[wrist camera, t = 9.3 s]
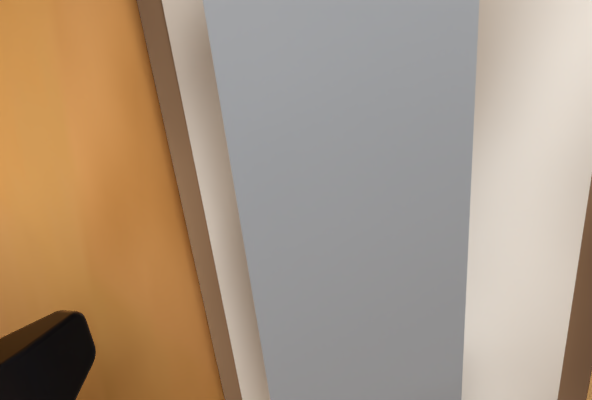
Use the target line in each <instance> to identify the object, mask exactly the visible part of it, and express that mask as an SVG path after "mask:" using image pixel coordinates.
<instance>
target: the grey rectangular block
mask: <svg viewBox="0 0 592 400" xmlns="http://www.w3.org/2000/svg"><path fill="white" fill-rule="evenodd" d="M203 6H204V11H205V17H206V23H207V29H208V35H209V41H210V47H211V53H212V59H213V64H214V70H215V76H216V82H217V88H218V94H219V100H220V106H221V112H222V118H223V123H224V129H225V135H226V141H227V147H228V153H229V159H230V165H231V171H232V176H233V182H234V188H235V194H236V200H237V206H238V212H239V218H240V224H241V229H242V235H243V241H244V247H245V253H246V259H247V265H248V271H249V277H250V283H251V288H252V294H253V300H254V306H255V312H256V318H257V324H258V330H259V336H260V341H261V347H262V353H263V359H264V365H265V371H266V377H267V383H268V389H269V394H270V400H461V395H462V373H463V351H464V329H465V307H466V285H467V263H468V240H469V218H470V196H471V174H472V152H473V130H474V108H475V86H476V64H477V41H478V19H479V0H203Z"/></svg>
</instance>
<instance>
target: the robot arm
mask: <svg viewBox="0 0 592 400" xmlns="http://www.w3.org/2000/svg"><path fill="white" fill-rule="evenodd" d="M95 353H96V350H95V345H94V342H93V339H92V336H91V333H90V330H89V327H88V324H87V321H86V319H85V317H84V315H83V314H82V313H80V312H77V311H66V310H60V311H56V312H54V313H52V314H50V315H48V316H46V317H44V318H42V319H40V320H37V321H35V322H33V323H31V324H29V325H27V326H25V327H23V328H21V329H19V330H17V331H15V332H13V333H11V334H9V335H7V336H5V337H3V338H1V339H0V400H75V399H76V397H77V395H78V393H79V391H80V389H81V387H82V385H83V383H84V381H85V379H86V377H87V375H88V372H89V370H90V368H91V366H92V364H93V362H94V359H95Z"/></svg>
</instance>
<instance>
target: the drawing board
mask: <svg viewBox="0 0 592 400" xmlns="http://www.w3.org/2000/svg"><path fill="white" fill-rule="evenodd" d="M137 4H138V9H139V13H140V18H141V22H142V27H143V31H144V36H145V40H146V45H147V49H148V54H149V58H150V63H151V68H152V72H153V77H154V81H155V86H156V90H157V95H158V99H159V104H160V108H161V113H162V117H163V122H164V126H165V131H166V135H167V140H168V144H169V149H170V153H171V158H172V162H173V167H174V171H175V176H176V180H177V185H178V190H179V194H180V199H181V203H182V208H183V212H184V217H185V221H186V226H187V230H188V235H189V239H190V244H191V248H192V253H193V257H194V262H195V266H196V271H197V275H198V280H199V284H200V289H201V293H202V298H203V302H204V307H205V312H206V316H207V321H208V325H209V330H210V334H211V339H212V343H213V348H214V352H215V357H216V361H217V366H218V370H219V375H220V379H221V384H222V388H223V393H224V397H225V400H270V394H269V389H268V383H267V377H266V371H265V365H264V359H263V353H262V347H261V341H260V336H259V330H258V324H257V318H256V312H255V306H254V300H253V294H252V288H251V283H250V277H249V271H248V265H247V259H246V253H245V247H244V241H243V235H242V229H241V224H240V218H239V212H238V206H237V200H236V194H235V188H234V182H233V176H232V171H231V165H230V159H229V153H228V147H227V141H226V135H225V129H224V123H223V118H222V112H221V106H220V100H219V94H218V88H217V82H216V76H215V70H214V64H213V59H212V53H211V47H210V41H209V35H208V29H207V23H206V17H205V11H204V6H203V0H137ZM591 371H592V0H479V19H478V41H477V64H476V86H475V108H474V130H473V152H472V174H471V196H470V218H469V240H468V263H467V285H466V307H465V329H464V351H463V373H462V395H461V400H586V398H587V393H588V387H589V382H590V376H591Z"/></svg>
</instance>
